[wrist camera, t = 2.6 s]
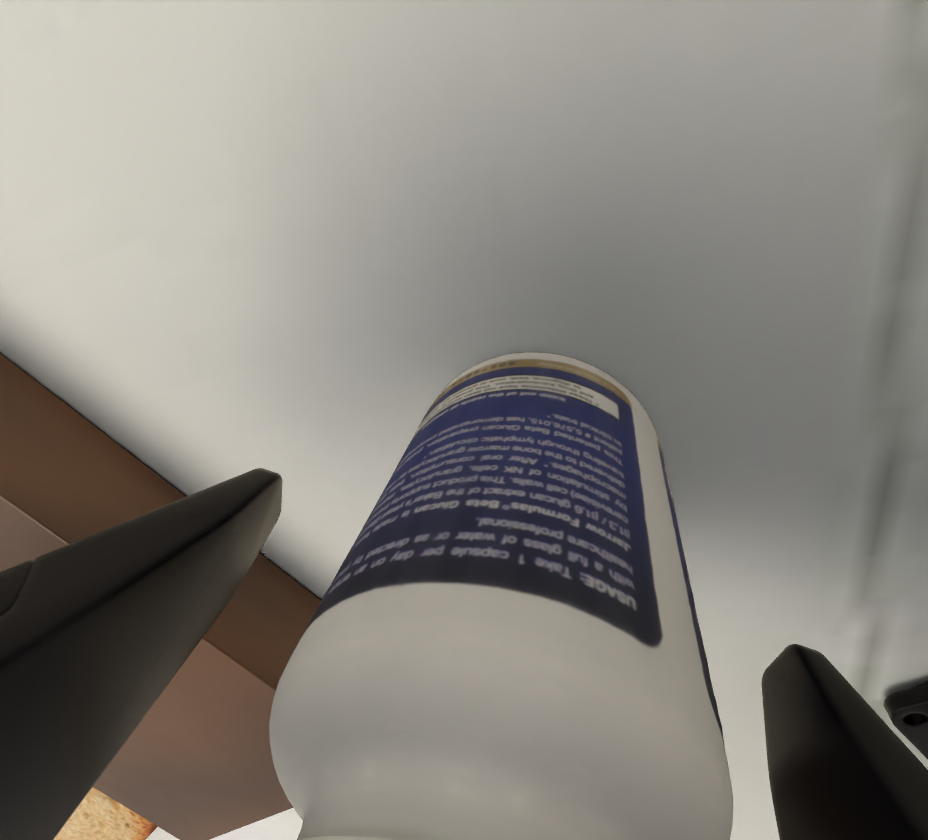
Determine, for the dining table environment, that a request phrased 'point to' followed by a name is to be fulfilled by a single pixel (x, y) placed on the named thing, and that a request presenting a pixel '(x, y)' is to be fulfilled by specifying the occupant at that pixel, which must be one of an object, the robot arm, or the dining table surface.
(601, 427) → the pill bottle
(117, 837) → the slice of bread
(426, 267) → the dining table surface
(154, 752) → the walnut board
